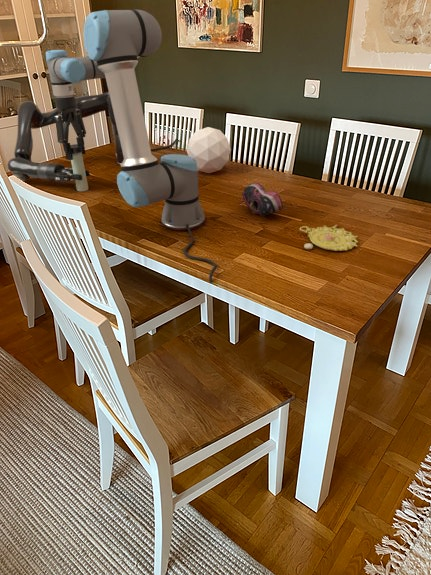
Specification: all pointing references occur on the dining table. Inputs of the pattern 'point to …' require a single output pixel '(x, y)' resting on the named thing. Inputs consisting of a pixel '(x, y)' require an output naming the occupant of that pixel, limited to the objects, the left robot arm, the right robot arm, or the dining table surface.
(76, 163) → the pale green capped tube
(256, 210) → the athletic shoe
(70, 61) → the right robot arm
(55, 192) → the dining table surface
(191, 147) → the sphere
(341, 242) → the decorative object
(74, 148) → the lid
